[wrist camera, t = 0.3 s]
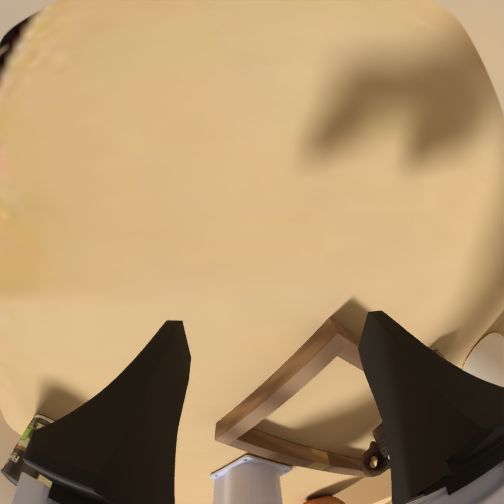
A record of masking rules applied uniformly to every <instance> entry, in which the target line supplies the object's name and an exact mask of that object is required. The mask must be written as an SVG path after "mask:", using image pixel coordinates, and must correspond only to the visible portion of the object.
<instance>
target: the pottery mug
mask: <svg viewBox="0 0 504 504" xmlns="http://www.w3.org/2000/svg"><path fill="white" fill-rule="evenodd" d="M373 434H374V436H375V441H376V442H375V441H372V442H371V443H370V447H369V449H368V450H367V451H366V452H365V453H364V454H363V456H362V458H361V462H360V471H363V472H364V473H365V475H366V476H369V477H374V476H378V475H380V474H381V473H383V472H385V471H386V470H387V469H390V468H391V467H390V460H389V459H388V455H389V452H388V446H387V440H386V435H385V430H384V426H383V424H382V425H381V426H379V427H378V428H377V429H375V430H374V431H373ZM372 456H375V457H377V460H378V461H377V466H376V467H375V468H372V467H371V466H370V461H371V458H372Z"/></svg>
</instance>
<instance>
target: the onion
mask: <svg viewBox="0 0 504 504" xmlns="http://www.w3.org/2000/svg"><path fill="white" fill-rule="evenodd" d="M304 504H345V503H344V502H343V501H341V500H340V499H338V498H336V497H333V496H324V497H320V498H316V499H312V500H309V501H306V502H305V503H304Z"/></svg>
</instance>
